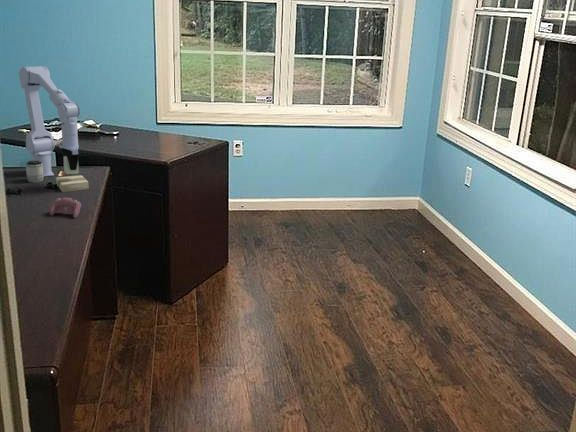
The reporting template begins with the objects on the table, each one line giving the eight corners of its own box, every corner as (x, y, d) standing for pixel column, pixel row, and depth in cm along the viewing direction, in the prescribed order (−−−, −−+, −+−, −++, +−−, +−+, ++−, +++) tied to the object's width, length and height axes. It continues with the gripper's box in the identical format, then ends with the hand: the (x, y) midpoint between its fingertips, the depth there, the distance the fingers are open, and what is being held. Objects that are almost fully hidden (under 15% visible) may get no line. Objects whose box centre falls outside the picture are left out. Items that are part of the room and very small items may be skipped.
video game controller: (80, 219, 212) (83, 199, 213) (75, 217, 207) (78, 197, 208) (53, 216, 213) (56, 197, 213) (47, 215, 208) (50, 195, 209)
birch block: (56, 184, 241) (56, 177, 240) (82, 182, 246) (81, 175, 245) (62, 192, 233) (62, 184, 232) (88, 189, 238) (88, 182, 237)
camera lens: (31, 177, 247) (29, 159, 244) (46, 179, 247) (45, 160, 244) (24, 182, 241) (22, 163, 238) (39, 183, 241) (38, 164, 238)
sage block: (64, 171, 238) (63, 156, 236) (75, 170, 240) (75, 155, 238) (67, 174, 235) (66, 159, 232) (78, 173, 237) (78, 158, 235)
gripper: (54, 130, 236) (56, 164, 241) (63, 138, 225) (65, 173, 229) (73, 129, 240) (74, 162, 244) (82, 137, 228) (84, 172, 233)
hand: (71, 168), depth 237 cm, fingers closed on sage block, 4 cm apart
